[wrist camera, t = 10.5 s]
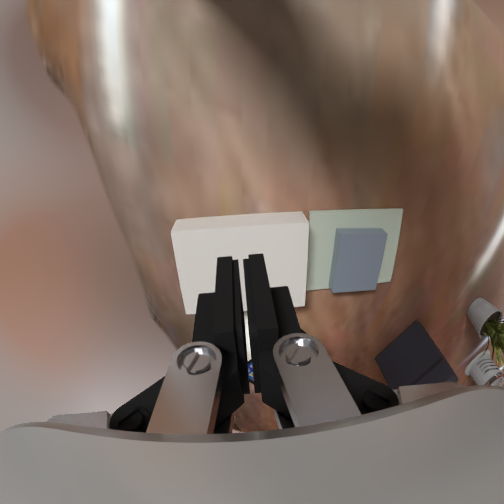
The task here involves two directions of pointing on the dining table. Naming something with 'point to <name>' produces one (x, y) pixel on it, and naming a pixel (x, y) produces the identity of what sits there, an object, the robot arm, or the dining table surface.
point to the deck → (241, 251)
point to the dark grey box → (414, 360)
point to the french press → (484, 370)
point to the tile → (356, 259)
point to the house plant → (488, 324)
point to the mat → (329, 220)
